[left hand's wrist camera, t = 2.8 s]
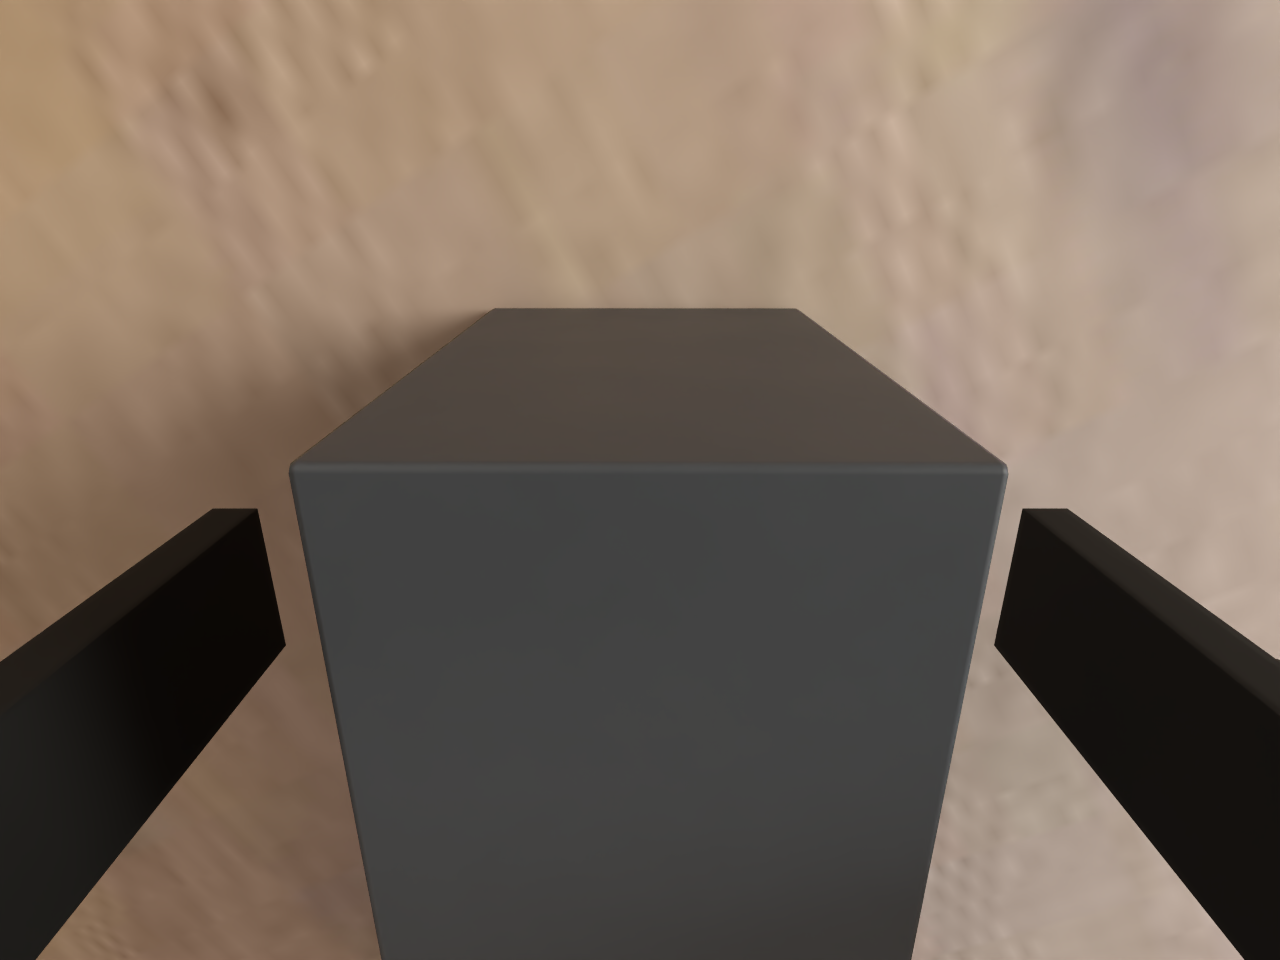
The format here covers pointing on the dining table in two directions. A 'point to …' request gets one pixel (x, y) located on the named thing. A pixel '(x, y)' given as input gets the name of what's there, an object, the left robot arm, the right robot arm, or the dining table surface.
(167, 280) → the dining table surface
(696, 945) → the bar
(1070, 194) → the dining table surface
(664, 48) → the dining table surface
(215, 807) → the dining table surface
